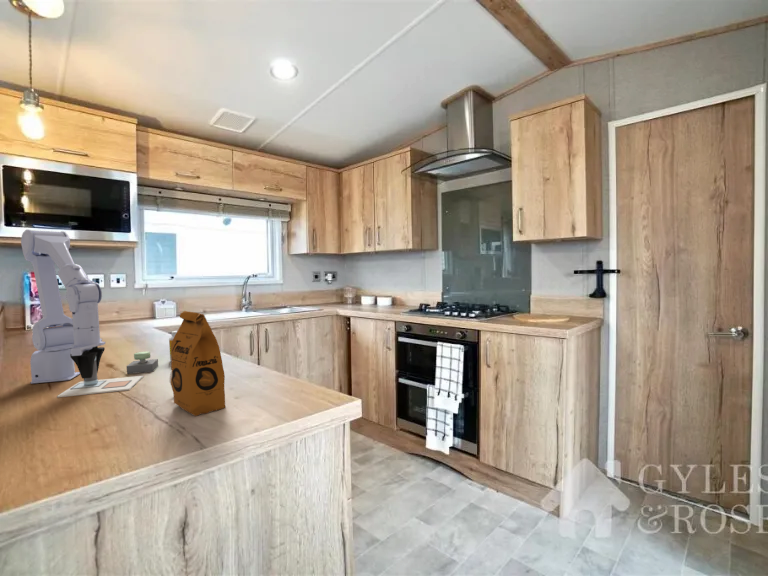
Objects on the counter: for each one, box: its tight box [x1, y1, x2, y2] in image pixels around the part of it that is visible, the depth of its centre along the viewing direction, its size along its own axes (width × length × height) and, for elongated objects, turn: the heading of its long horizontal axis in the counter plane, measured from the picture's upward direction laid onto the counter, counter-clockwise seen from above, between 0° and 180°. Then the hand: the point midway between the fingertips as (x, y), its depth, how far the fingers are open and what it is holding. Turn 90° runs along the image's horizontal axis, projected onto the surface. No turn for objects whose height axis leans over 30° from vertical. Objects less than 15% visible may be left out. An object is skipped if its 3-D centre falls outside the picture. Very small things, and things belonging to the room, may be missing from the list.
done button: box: [133, 351, 151, 363], centre depth 124 cm, size 4×4×4 cm
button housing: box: [126, 358, 159, 375], centre depth 124 cm, size 7×7×2 cm
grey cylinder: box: [83, 357, 99, 385], centre depth 108 cm, size 3×3×8 cm
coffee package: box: [170, 310, 226, 417], centre depth 89 cm, size 10×12×22 cm
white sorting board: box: [56, 375, 145, 398], centre depth 108 cm, size 16×13×1 cm
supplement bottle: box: [168, 330, 178, 361], centre depth 137 cm, size 6×6×10 cm
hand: (89, 376), depth 108 cm, fingers closed on grey cylinder, 3 cm apart
